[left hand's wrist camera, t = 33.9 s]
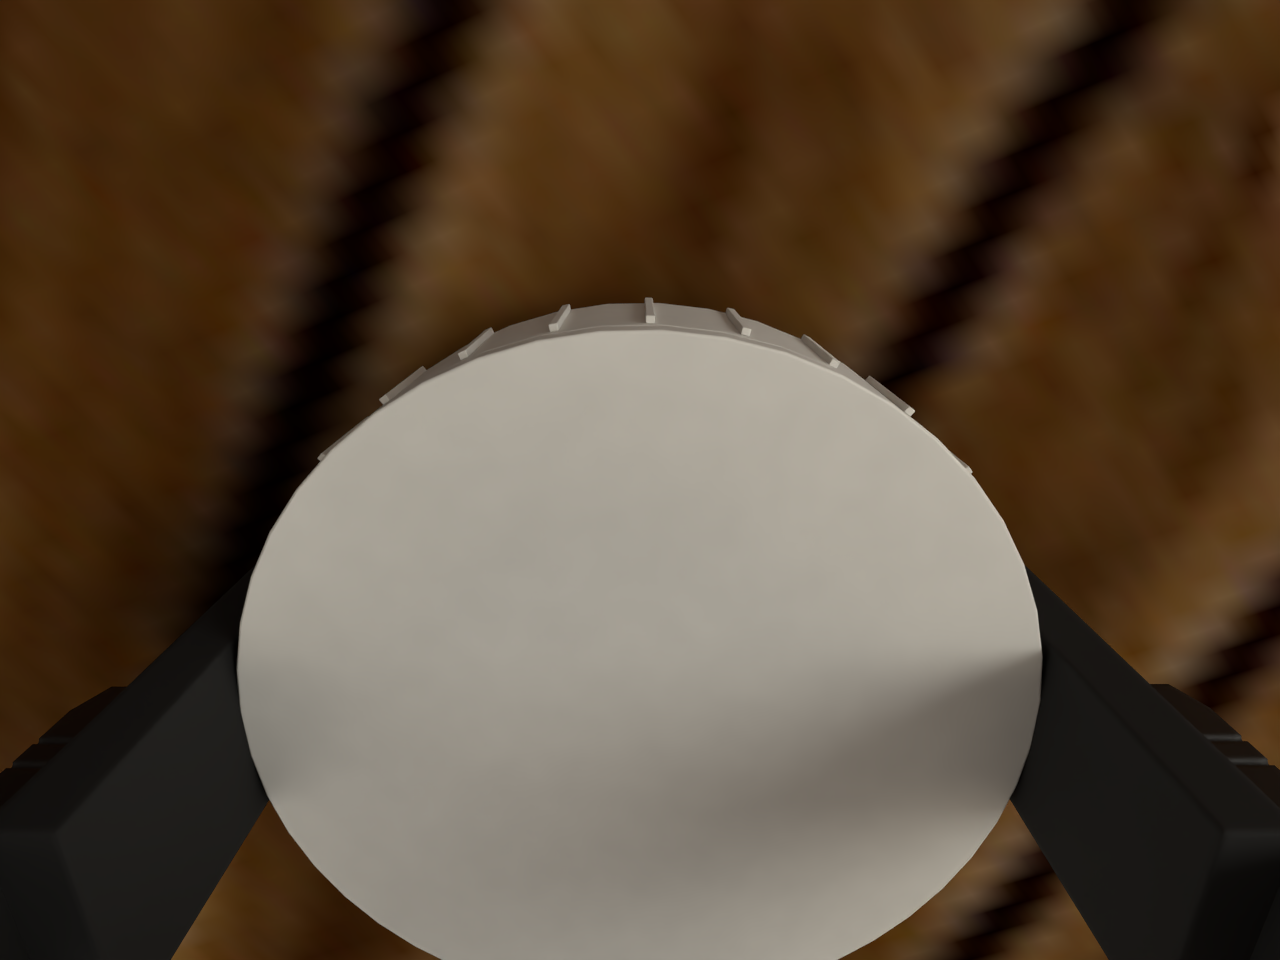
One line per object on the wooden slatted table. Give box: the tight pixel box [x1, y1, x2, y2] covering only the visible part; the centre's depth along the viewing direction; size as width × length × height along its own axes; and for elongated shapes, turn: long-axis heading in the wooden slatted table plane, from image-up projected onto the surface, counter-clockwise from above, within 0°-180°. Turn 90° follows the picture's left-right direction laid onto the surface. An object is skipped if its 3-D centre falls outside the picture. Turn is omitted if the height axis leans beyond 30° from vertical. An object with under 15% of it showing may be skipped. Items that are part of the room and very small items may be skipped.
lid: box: [237, 298, 1043, 960], centre depth 11 cm, size 11×11×2 cm
